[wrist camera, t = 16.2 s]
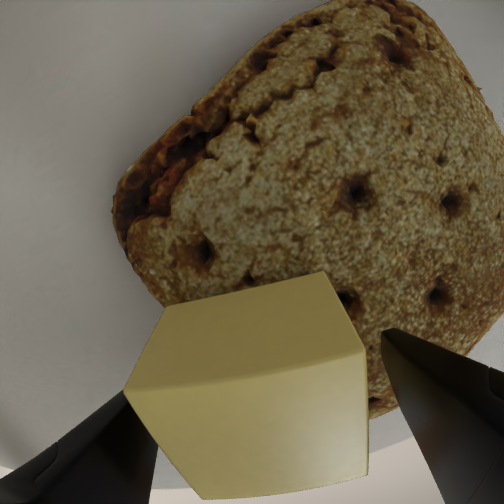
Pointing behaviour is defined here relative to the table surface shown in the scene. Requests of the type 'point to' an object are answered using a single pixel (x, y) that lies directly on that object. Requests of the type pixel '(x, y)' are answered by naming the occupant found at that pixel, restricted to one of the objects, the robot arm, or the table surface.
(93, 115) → the table surface
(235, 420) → the butter pat
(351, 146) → the pastry
